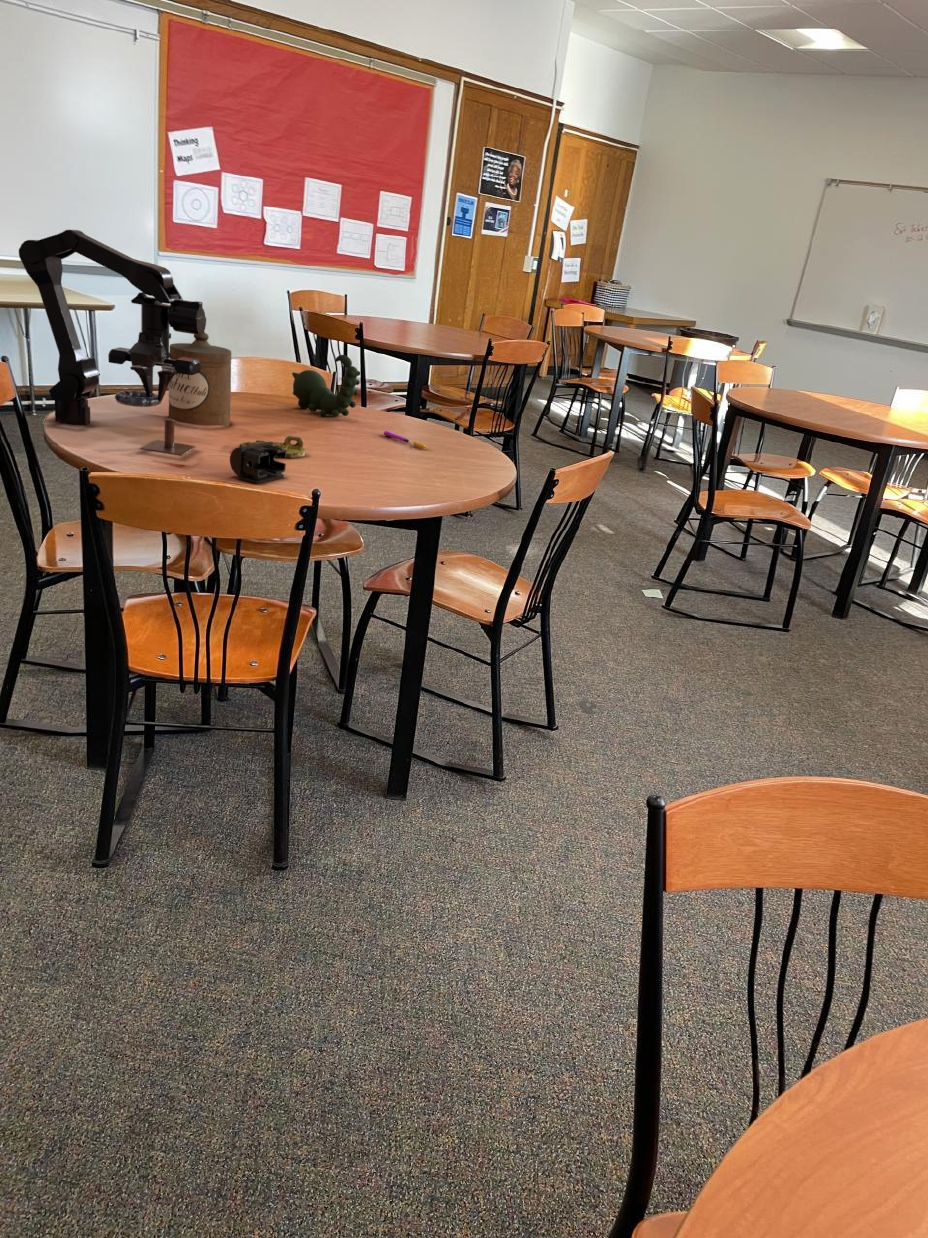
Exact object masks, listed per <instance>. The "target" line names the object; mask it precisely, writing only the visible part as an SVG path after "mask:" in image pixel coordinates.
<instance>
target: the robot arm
mask: <svg viewBox="0 0 928 1238" xmlns="http://www.w3.org/2000/svg"><path fill="white" fill-rule="evenodd" d="M75 253H77V254H78V255H81V256H82V257H84V258H87V259H89V260H91V261H93V262H94V263H97V264H99V265H100V266H103V267H105V268H107V269H108V270H111V271H112V272H114V273H117V274H119V275H120V276H122V277H124V279H126V280H127V281H128V282H129V283H130V284H131V285H132V286H133V287H134V288H136V289H137V290H139V291H140V292H138V293H137V295H136V296H135V297H133V298H132V299H131V300H130V303H131V304H135V305H140V307H141V308H140V309H141V311H140V312H141V313H140V314H141V317H140V322H141V323H140V324H141V327H140V329H141V331H140V332H138V339H137V342H135V343H133V345H132V346H131V348H127V347H119V346H118V347H116V348H112V349H110V350H109V351H108V357H107V358H108V363H110V364H114V365H116V364H117V365H124V363H126V362H131V366H130V367H129V368H130V370H131V371H134V372H135V373H136V374H137V375H138V377H139V380H140V381H141V383H142V386H143V389H144V392H146V395H147V397H152V394H153V393H154V367H155V366H158V367H161V370H159V371H157V372H156V373H157V376H158V386H157V387H158V389H157V395H158V401H159V402H161V403H162V401H163V399H164V397H165V395H166V392H167V389H169V383H170V381H171V380H172V378H173V376H174V375H175V374H178V373H180V374H186V375H194V374H197V373H200V372H201V364H200V362H199V360H198V359H192V358H186V357H182V358H179V359H176V360H173V359H170V357H171V353H170V339H172V333H171V332H170V328H172V329H173V331H174V332H178V333H183V334H191V335H194V334H196V335H202V334H203V333H204V332H206V328H207V327H206V326H207V316H206V312H205V310H204V307H203V304H204V303H203V301H198V300H196V301H195V300H194V301H192V300H184V298H183V297H182V295H181V294H180V291H179V289H178V288H177V286H176V285H175V283H174V278H173V275H172V272H171V271H170V270H169V269H167V268H166V267H164V266H161V265H158V264H155V263H152V262H148V261H143V260H139V259H136V258H133V257H130V256H129V255H127V254H125V253H123V252H121V251H118V250H117V249H115V248H113V247H111V246H109V245H107V244H105V243H104V242H101V241H99V240H97V239H95V238H93V237H91V236H89V235H87V234H86V233H84V232H83V231H82V230H79V229H65V230H63V231H62V232H59V233H56V234H54V235H51V236H50V235H49V236H47V237H43V238H41V239H27V240H24V241H23V242H22V243H21V244H20V247H19V248H18V257H19V259H20V261H21V263H22V265H23V267H24V270H25V272H26V274H27V275H28V276H29V277H30V279H31V280H32V282H33V283H34V284H35V285H36V287H37V289H38V292H39V294H40V298H41V301H42V304H43V307H44V310H45V313H46V317H47V320H48V324H49V326H50V329H51V332H52V336H53V339H54V342H55V345H56V348H57V351H58V364H57V366H58V367H57V373H58V379H59V381H57V383H55V384H54V385H52V387H50V389H49V390H48V393H49V395H50V398H51V400H52V401H54V421H55V422H58V423H59V424H63V425H69V426H88V425H91V407H90V406H89V399H88V398H91V396H92V392H93V391H94V390H95V389H96V388H97V387H98V385H99V381H100V379H99V376H101V373H100V372H99V370H98V368H97V363H96V358H95V357H94V356H91V357H88V356H87V355H86V353H85V352H84V351H83V349H82V346H81V343H80V340H79V336H78V333H77V330H76V327H75V324H74V320H73V317H72V314H71V310H70V307H69V305H68V304H69V303H68V301H67V298H66V294H65V291H64V288H63V285H62V278H63V269H64V268H63V262H62V260H64V259H66V258H68V257H70V256H72V255H74V254H75Z"/></svg>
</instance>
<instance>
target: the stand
mask: <svg viewBox="0 0 928 1238" xmlns="http://www.w3.org/2000/svg"><path fill="white" fill-rule="evenodd" d="M175 421H176V420H174V419H171V418H170V417H168V418H165V419H164V439H163V440H160V439H156V440H154V441H152V442H150V443H148V444H146V445H144V446H141V447H140V450H144V451H150V452H156V453H162V454H168V455H174V456H180V457H182V456H184V455H186V454H188V453H189V452H192V451H193V450H195V449H196V448H197V445H192V444H186V443H180V442H175Z"/></svg>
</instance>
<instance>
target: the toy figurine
mask: <svg viewBox="0 0 928 1238" xmlns="http://www.w3.org/2000/svg"><path fill="white" fill-rule="evenodd" d="M334 362H336V363H337V362H341V364H342V366H343V367H344V368H346V369H345V372H344V373H345V374H344V375H343V377H342V384H341V385H340V387H339V391H338V392H337V393H333V392H332V390H331V389H330V388H329V387H328V386H327V382H326V380H325V378H324V377H323V375H321V374H320V372H318V371H315V370H313V369H305V370H302V371H300V372H293V371H292V372H291V375H292V377H293V378H294V380H293V384H292V390H293V391H292V395H293V396H295V397H296V398H297V399H298V401H297V404H298V406H299V408H301V409H304V410H305V409H308V410H309V411H310V412H311V413H315V412H317V411H319V415H320V416H321V417H323V418H324V417H327V416H332V417H336V418H337V417H339V415H340V414H341V415H342V416H343V417H348V416H349V414H350V411H349V409H347V408H349V407H350V408H351V409H352V408H355V407H357V404H356V402H355V401H354V400H353V397H354V396H358V395H359V391H358V390H356V386H359V385H360V383H361V382H360V380H359V379H357V378H358V377H359V376H361V371H360V370H358V368H357V367H355V366H353V362H352V360H351V358H350V357H349V356H348V355H345V354H339V355H338V356H336V358H335V360H334Z"/></svg>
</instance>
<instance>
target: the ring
mask: <svg viewBox="0 0 928 1238" xmlns="http://www.w3.org/2000/svg"><path fill="white" fill-rule="evenodd" d="M114 399H115V401H116V403H118V404H121V405H124V406H128V407H136V408H139V407H140V408H147V407H148V408H150V407H151V408H152V407H156V406H159V405H161V403H162V401H161V402H159V401H158V393H154V392H153V394H152V397H147V395H146V392H145V390H144V391H143V390H122V391H119V392H116V393H115V395H114Z"/></svg>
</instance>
